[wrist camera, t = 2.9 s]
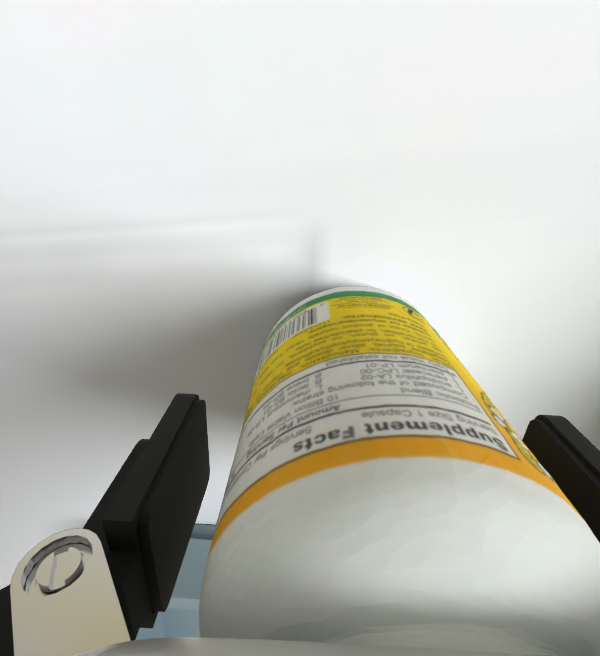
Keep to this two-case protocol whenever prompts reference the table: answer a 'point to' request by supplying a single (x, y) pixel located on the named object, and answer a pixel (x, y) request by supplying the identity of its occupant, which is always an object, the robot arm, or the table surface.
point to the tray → (185, 591)
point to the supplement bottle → (391, 500)
